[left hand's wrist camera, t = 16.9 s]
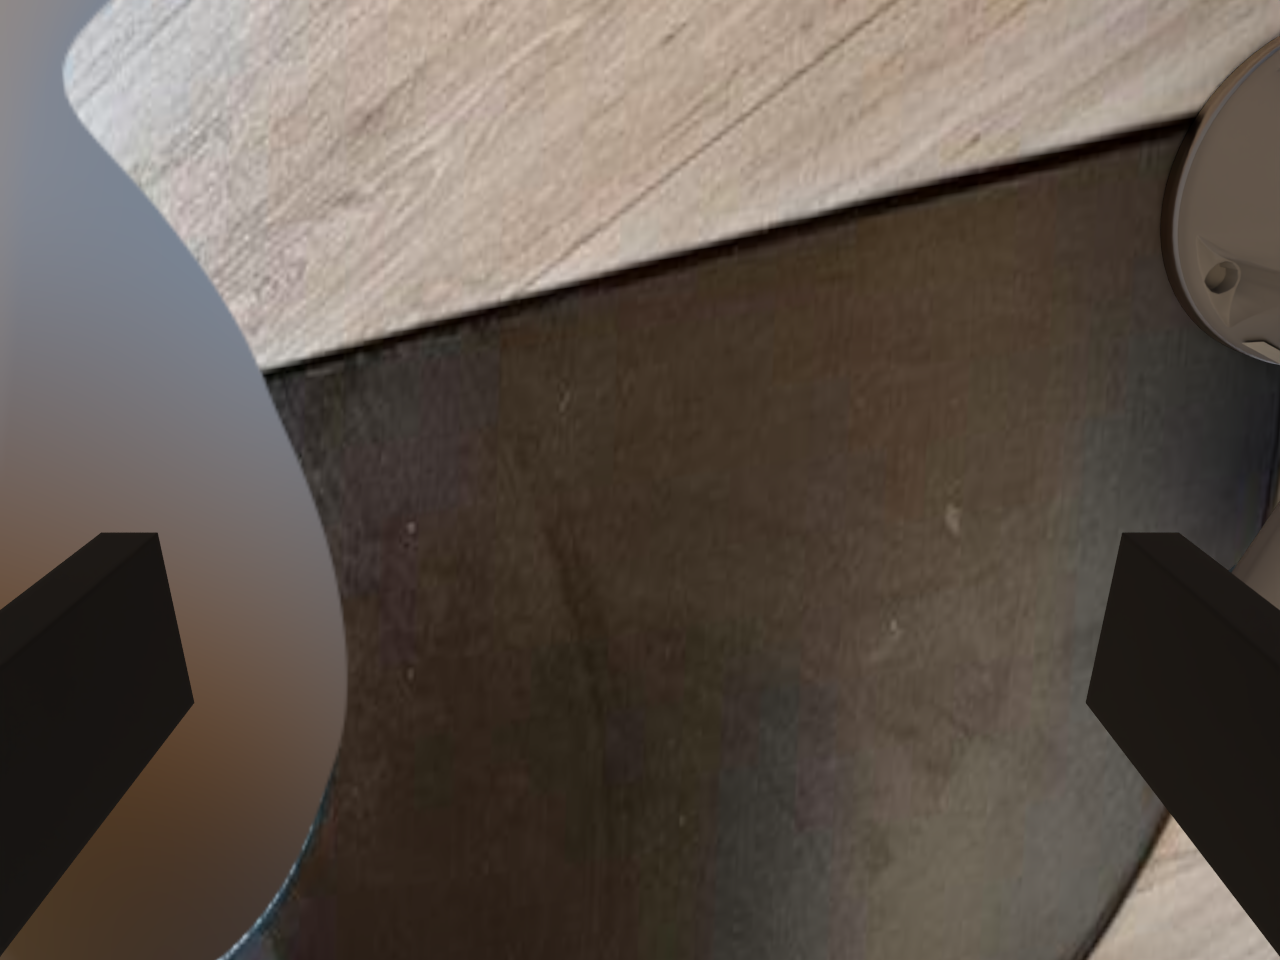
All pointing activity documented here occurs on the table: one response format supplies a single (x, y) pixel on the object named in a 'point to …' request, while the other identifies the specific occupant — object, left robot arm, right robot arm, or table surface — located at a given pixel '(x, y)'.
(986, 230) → the table surface
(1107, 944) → the table surface
